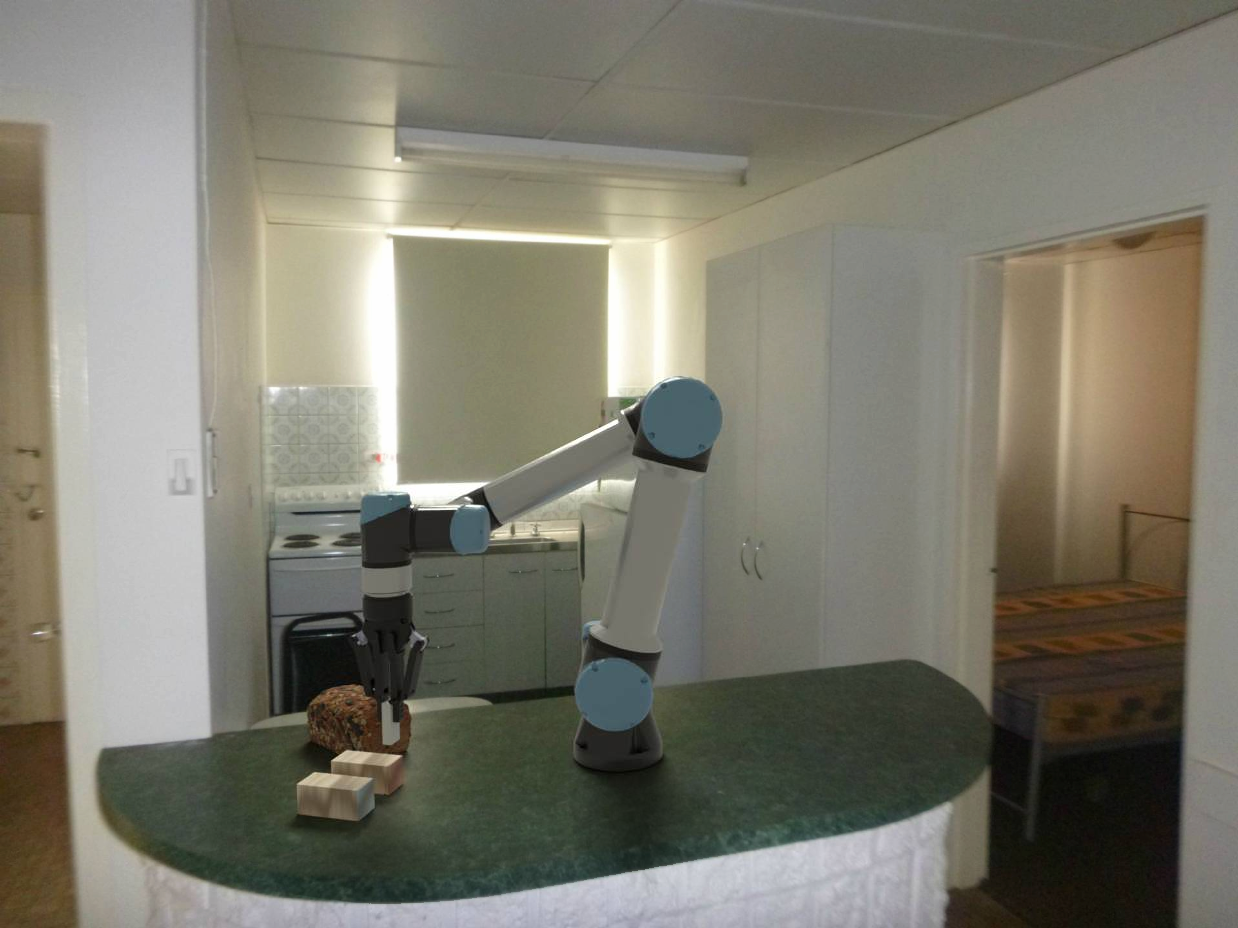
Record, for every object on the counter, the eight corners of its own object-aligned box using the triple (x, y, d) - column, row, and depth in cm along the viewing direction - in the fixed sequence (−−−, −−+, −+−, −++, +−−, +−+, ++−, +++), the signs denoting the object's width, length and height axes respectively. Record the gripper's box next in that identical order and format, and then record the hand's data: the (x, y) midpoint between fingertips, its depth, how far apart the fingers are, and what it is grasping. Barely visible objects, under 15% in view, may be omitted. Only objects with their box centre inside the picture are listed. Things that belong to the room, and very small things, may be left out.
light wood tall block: (402, 755, 142) (346, 750, 144) (388, 766, 138) (330, 760, 140) (403, 783, 142) (347, 777, 145) (389, 794, 138) (331, 788, 140)
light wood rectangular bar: (373, 778, 133) (314, 771, 136) (357, 790, 129) (296, 784, 131) (374, 807, 134) (315, 800, 136) (358, 821, 129) (297, 813, 132)
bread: (413, 751, 156) (412, 694, 155) (358, 769, 148) (356, 710, 148) (358, 726, 169) (356, 673, 168) (304, 741, 161) (302, 686, 161)
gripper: (437, 588, 140) (440, 736, 142) (362, 585, 144) (366, 729, 145) (414, 598, 133) (418, 754, 135) (336, 595, 136) (340, 746, 138)
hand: (391, 741), depth 140 cm, fingers closed
